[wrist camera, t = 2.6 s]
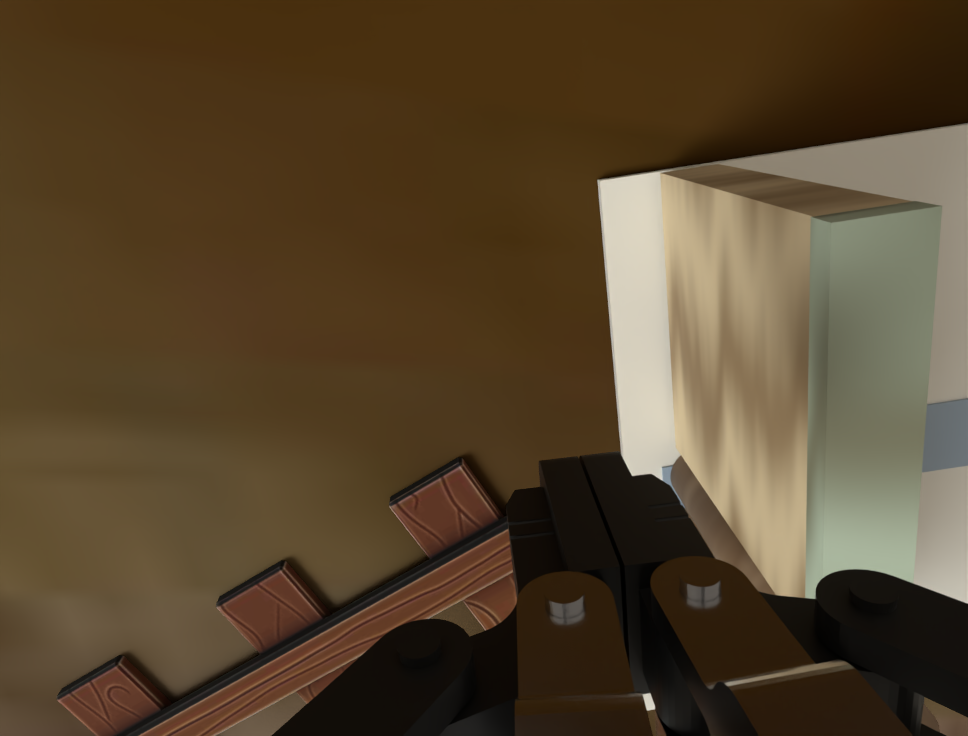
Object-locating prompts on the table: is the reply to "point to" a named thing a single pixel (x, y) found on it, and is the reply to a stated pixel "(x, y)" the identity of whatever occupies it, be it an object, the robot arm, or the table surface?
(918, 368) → the gate panel
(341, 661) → the decorative fence
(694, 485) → the fixed leg
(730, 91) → the table surface
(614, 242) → the card
